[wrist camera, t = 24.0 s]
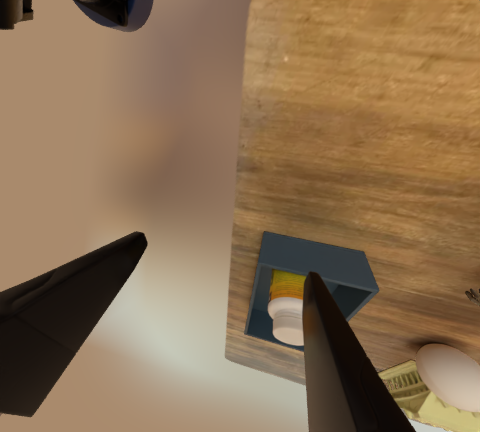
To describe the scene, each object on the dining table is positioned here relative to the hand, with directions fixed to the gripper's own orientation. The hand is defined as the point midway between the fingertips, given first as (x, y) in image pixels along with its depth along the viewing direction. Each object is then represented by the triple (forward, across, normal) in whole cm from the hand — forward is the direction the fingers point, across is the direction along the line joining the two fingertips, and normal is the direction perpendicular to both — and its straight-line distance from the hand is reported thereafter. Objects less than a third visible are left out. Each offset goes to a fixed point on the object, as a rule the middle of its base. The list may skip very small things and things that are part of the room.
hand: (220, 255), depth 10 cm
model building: (+13, -48, +43) cm, 65 cm away
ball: (+13, -35, +28) cm, 46 cm away
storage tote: (+13, -8, +20) cm, 26 cm away
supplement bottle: (+13, -7, +13) cm, 20 cm away
